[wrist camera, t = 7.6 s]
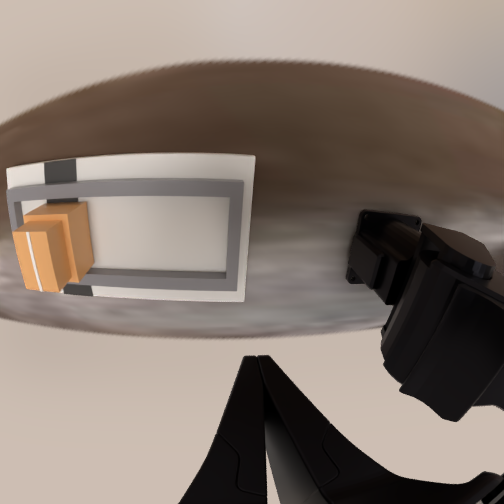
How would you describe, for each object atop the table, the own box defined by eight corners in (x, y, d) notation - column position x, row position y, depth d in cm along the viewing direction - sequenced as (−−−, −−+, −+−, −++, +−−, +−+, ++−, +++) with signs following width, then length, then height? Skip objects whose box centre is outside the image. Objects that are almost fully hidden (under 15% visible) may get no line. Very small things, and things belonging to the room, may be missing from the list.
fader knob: (86, 201, 17) (50, 225, 12) (94, 263, 19) (66, 299, 14) (44, 203, 16) (5, 226, 12) (54, 261, 18) (22, 294, 14)
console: (253, 154, 18) (257, 157, 16) (242, 293, 23) (245, 309, 21) (14, 166, 16) (-1, 171, 14) (34, 282, 20) (23, 294, 18)
